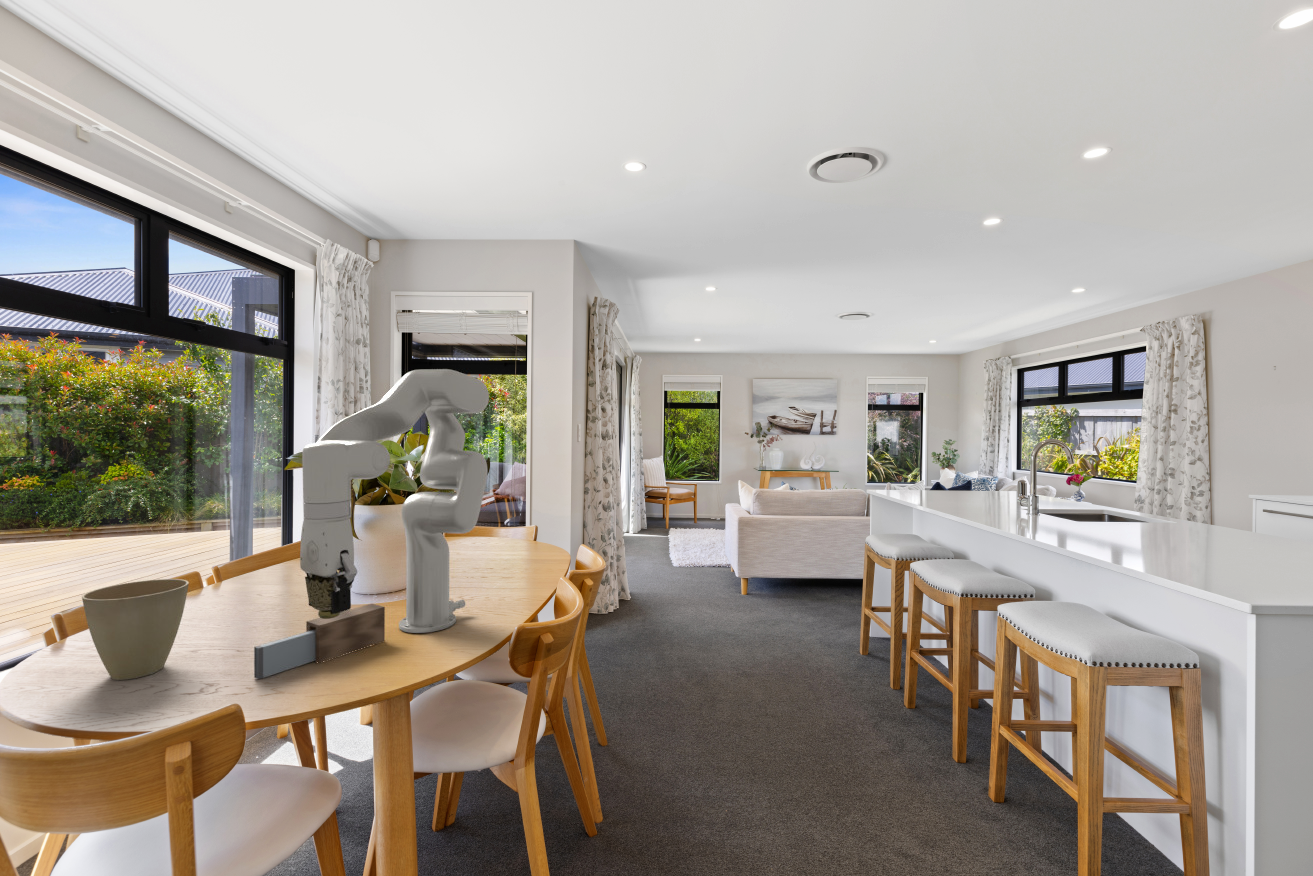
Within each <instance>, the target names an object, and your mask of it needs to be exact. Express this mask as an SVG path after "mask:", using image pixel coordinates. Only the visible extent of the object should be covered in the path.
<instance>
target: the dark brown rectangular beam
mask: <svg viewBox="0 0 1313 876" xmlns="http://www.w3.org/2000/svg"><path fill="white" fill-rule="evenodd" d="M385 611H386V608H385V606H383V605H380V604H375V603H369V604H365V605H362V606H358V607H353V608H350V609H349V610H346V611H343V612H341V613H340V615H338V616H337V617H334V618H330V619H322V618H320V617H317V618H314V619H309V620H306V622H305V623H306V627H305V628H306V631H305V632H308V631H311V630H315V629H316V660H315V663H316V662H318V663H320V664H322V663H321V662H323V661H326V662H328V661H327V660H329V659H332V658H335V657H338V656H340V657H342V656H341V655H343V654H346V653H349V652H352V651H355V650H358V649H361V648H364V647H367V646H370V645H373V644H376V645H378V644H377V643H379V644H381V643H380V642H382V643H384V642H383V641H385V634H386V631H385V630H386V629H385V628H386V627H385V626H386V625H385V624H386V620H385V616H386V615H385V613H386V612H385ZM373 646H374V645H373ZM370 647H371V646H370ZM367 648H368V647H367ZM364 649H365V648H364ZM361 650H362V649H361ZM358 651H359V650H358ZM355 652H356V651H355ZM352 653H353V652H352ZM349 654H350V653H349ZM346 655H347V654H346ZM343 656H344V655H343ZM338 658H339V657H338ZM335 659H336V658H335ZM332 660H333V659H332ZM329 661H330V660H329ZM318 663H317V664H318ZM323 663H324V662H323Z"/></svg>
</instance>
